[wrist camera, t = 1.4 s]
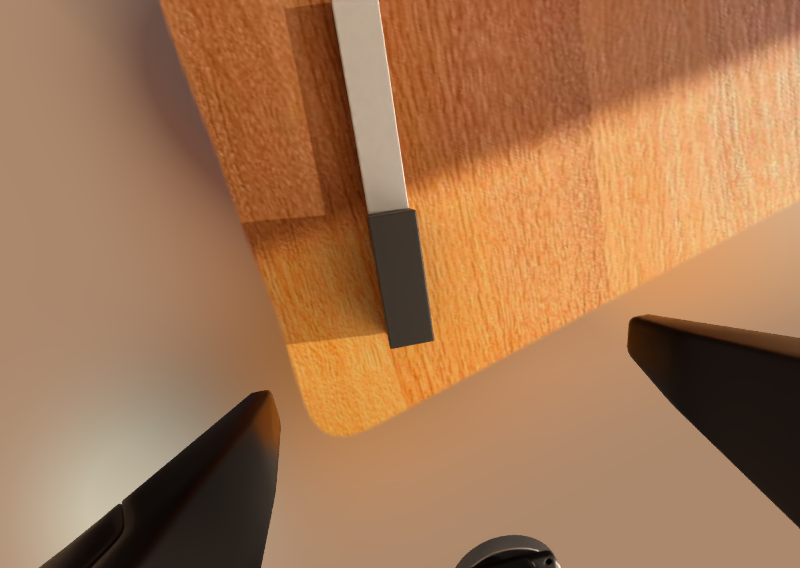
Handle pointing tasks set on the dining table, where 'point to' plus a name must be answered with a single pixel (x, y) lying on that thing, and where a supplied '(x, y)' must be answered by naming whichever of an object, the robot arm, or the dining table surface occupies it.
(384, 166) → the two-tone stick
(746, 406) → the robot arm
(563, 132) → the dining table surface
